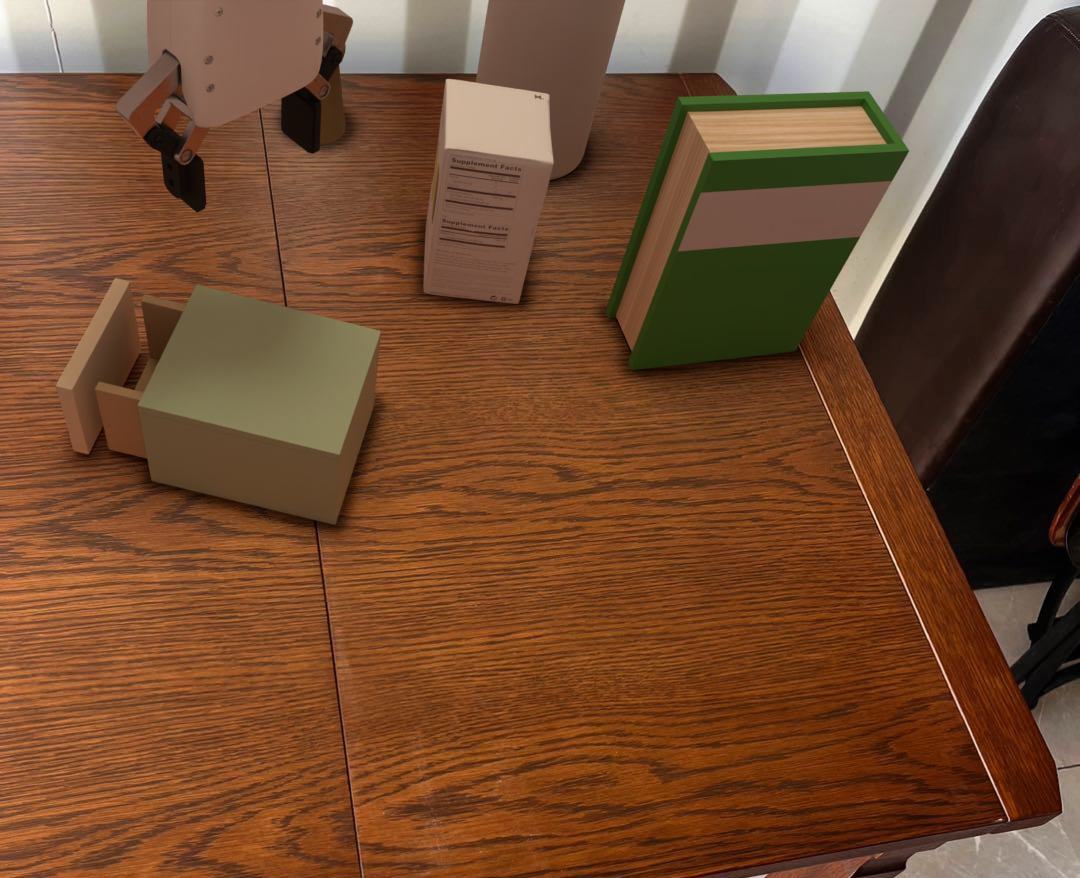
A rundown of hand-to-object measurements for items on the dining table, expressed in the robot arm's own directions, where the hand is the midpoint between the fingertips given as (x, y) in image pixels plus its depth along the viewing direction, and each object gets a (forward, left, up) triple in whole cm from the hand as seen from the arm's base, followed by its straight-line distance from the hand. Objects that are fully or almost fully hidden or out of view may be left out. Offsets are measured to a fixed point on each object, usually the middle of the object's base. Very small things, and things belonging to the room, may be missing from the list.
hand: (245, 169), depth 72 cm
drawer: (-5, -5, -22) cm, 23 cm away
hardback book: (+38, +20, -23) cm, 49 cm away
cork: (-4, +35, -23) cm, 42 cm away
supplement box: (+15, +21, -23) cm, 34 cm away
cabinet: (+3, -5, -23) cm, 24 cm away
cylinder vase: (+17, +41, -23) cm, 50 cm away
